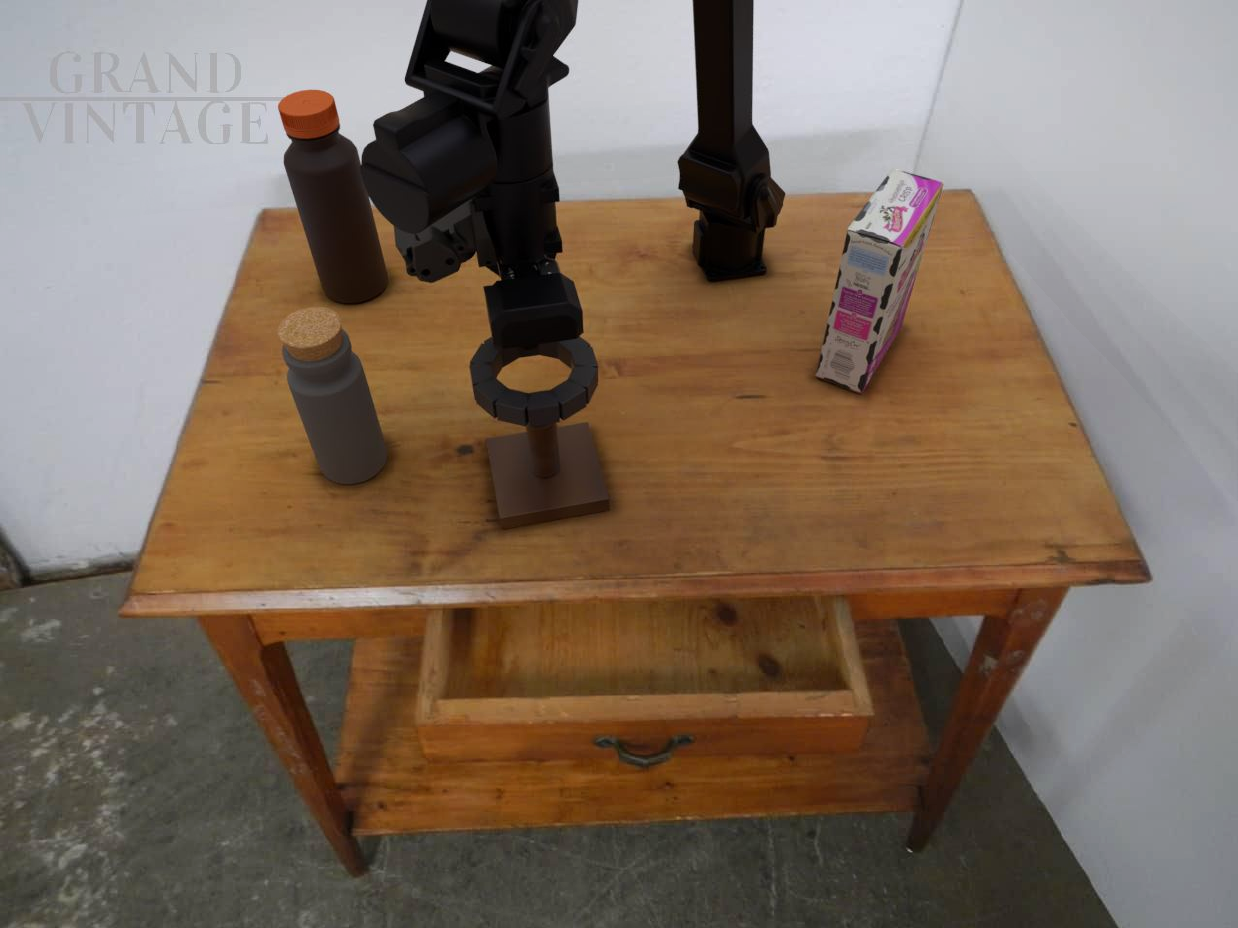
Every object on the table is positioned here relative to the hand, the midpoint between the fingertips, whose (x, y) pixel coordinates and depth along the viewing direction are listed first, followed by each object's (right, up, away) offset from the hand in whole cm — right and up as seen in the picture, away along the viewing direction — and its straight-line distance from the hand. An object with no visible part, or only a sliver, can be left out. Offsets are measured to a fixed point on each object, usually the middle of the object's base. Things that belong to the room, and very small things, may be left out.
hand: (528, 340), depth 74 cm
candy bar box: (+30, +1, +15) cm, 34 cm away
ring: (+1, -3, -2) cm, 4 cm away
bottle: (-16, -10, +7) cm, 20 cm away
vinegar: (-20, +9, +23) cm, 32 cm away
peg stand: (+1, -11, +5) cm, 12 cm away
